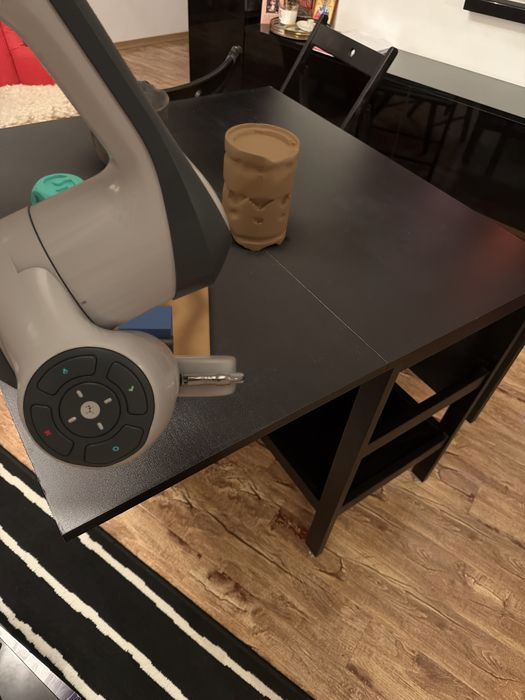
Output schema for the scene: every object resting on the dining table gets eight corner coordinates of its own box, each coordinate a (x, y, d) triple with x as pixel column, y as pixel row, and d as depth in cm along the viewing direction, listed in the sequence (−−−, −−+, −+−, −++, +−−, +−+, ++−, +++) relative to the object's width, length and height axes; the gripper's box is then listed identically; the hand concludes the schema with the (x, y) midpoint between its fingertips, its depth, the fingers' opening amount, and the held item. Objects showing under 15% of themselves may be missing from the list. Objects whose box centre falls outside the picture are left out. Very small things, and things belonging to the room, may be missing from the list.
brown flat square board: (94, 359, 67) (94, 357, 66) (108, 285, 77) (108, 284, 77) (210, 359, 69) (210, 357, 69) (207, 287, 80) (208, 286, 79)
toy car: (125, 401, 62) (114, 337, 54) (129, 364, 67) (120, 299, 58) (174, 400, 63) (172, 337, 54) (176, 364, 67) (173, 300, 59)
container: (298, 233, 94) (315, 142, 81) (256, 259, 86) (267, 163, 73) (250, 207, 98) (258, 117, 85) (206, 229, 91) (209, 134, 78)
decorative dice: (62, 242, 84) (52, 201, 78) (36, 223, 87) (25, 182, 81) (100, 226, 88) (94, 186, 82) (74, 208, 91) (66, 168, 86)
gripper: (247, 345, 43) (234, 342, 57) (5, 344, 40) (53, 341, 54) (246, 414, 43) (234, 394, 57) (6, 418, 40) (53, 396, 54)
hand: (144, 368), depth 55 cm, fingers closed
